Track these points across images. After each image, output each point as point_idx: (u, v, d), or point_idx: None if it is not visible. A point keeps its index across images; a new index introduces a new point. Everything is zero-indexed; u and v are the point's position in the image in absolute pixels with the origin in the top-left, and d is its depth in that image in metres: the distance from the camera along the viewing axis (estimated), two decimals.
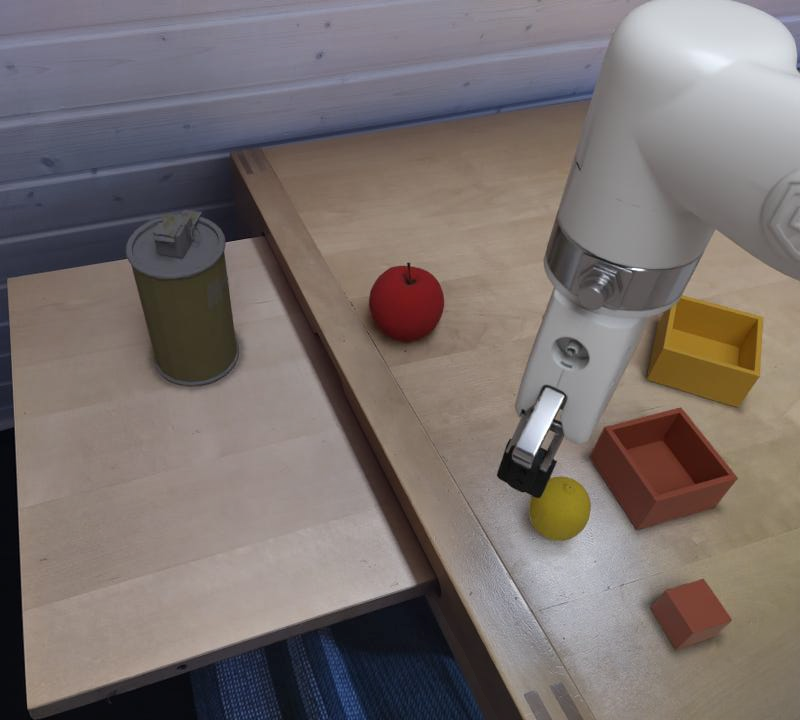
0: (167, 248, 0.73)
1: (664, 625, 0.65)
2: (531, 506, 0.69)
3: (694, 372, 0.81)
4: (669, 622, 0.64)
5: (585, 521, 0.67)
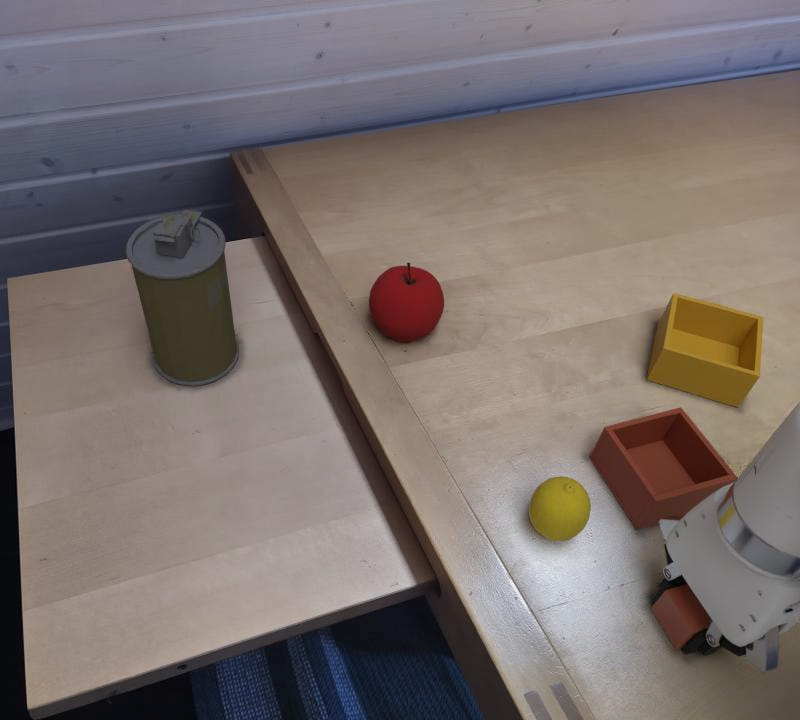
0: (167, 248, 0.73)
1: (664, 625, 0.65)
2: (531, 506, 0.69)
3: (694, 372, 0.81)
4: (669, 622, 0.64)
5: (585, 521, 0.67)
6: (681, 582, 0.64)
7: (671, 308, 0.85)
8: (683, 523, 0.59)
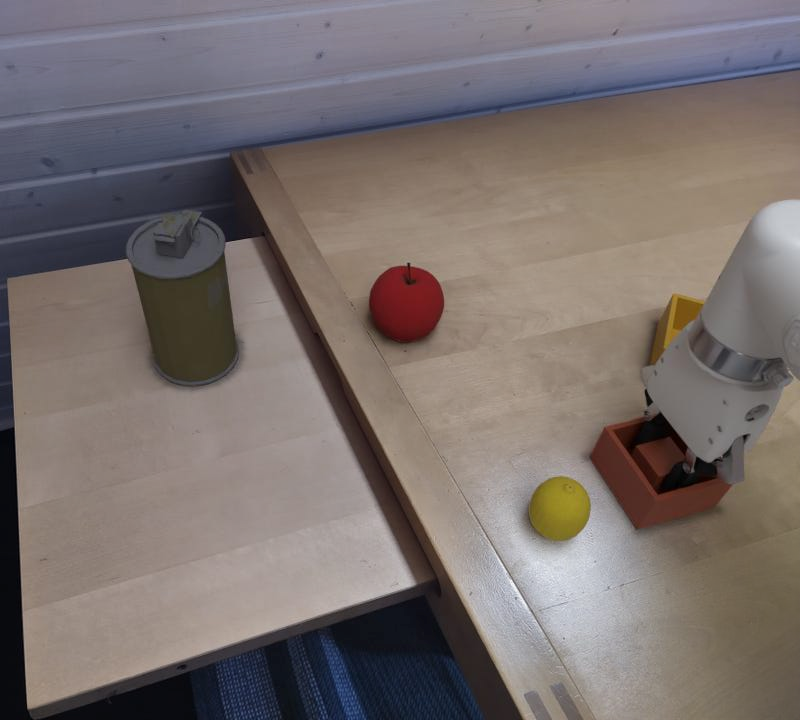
0: (167, 248, 0.73)
1: None
2: (531, 506, 0.69)
3: None
4: None
5: (585, 521, 0.67)
6: (659, 423, 0.71)
7: (671, 308, 0.85)
8: (660, 361, 0.67)
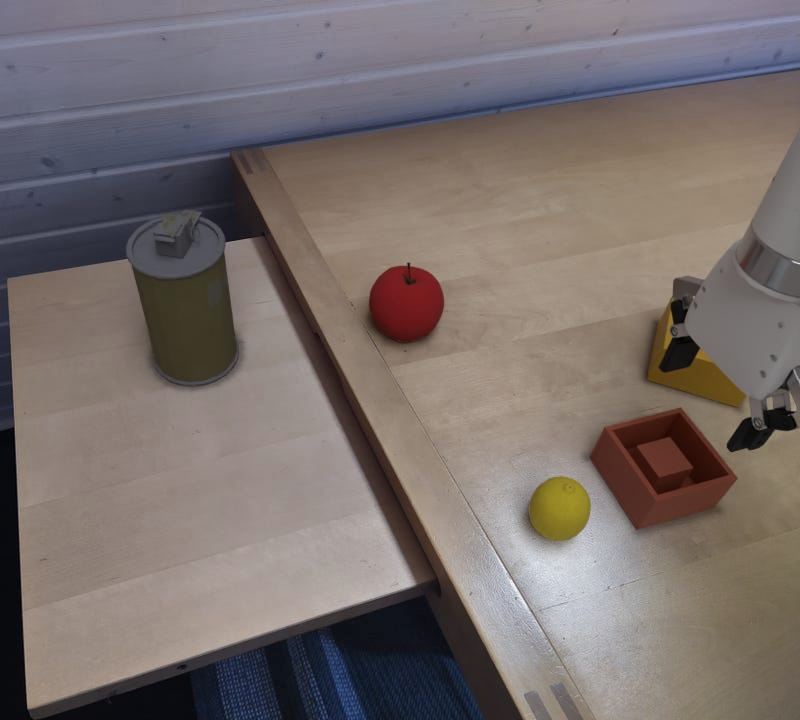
0: (167, 248, 0.73)
1: None
2: (531, 506, 0.69)
3: (694, 372, 0.81)
4: None
5: (585, 521, 0.67)
6: (688, 340, 0.65)
7: None
8: (701, 290, 0.59)
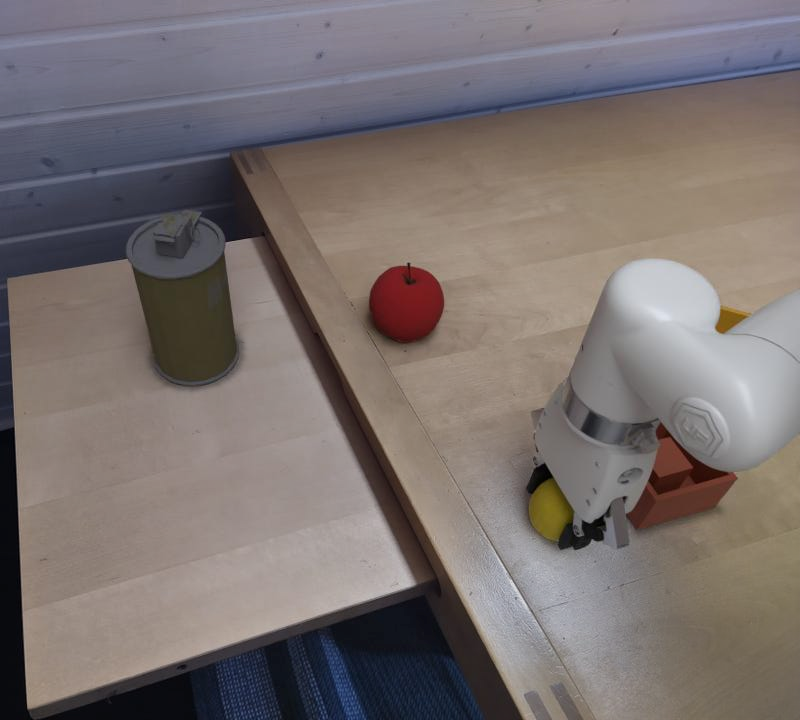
0: (167, 248, 0.73)
1: None
2: (531, 506, 0.69)
3: None
4: None
5: None
6: (548, 469, 0.69)
7: None
8: (544, 414, 0.63)
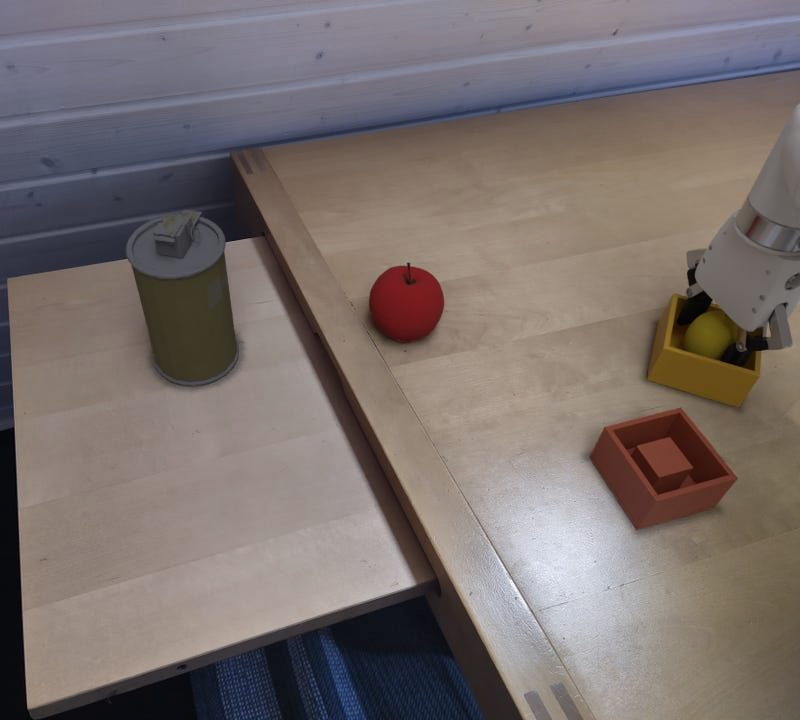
0: (167, 248, 0.73)
1: None
2: (688, 336, 0.83)
3: (694, 372, 0.81)
4: None
5: None
6: (700, 299, 0.83)
7: (671, 308, 0.85)
8: (709, 249, 0.78)
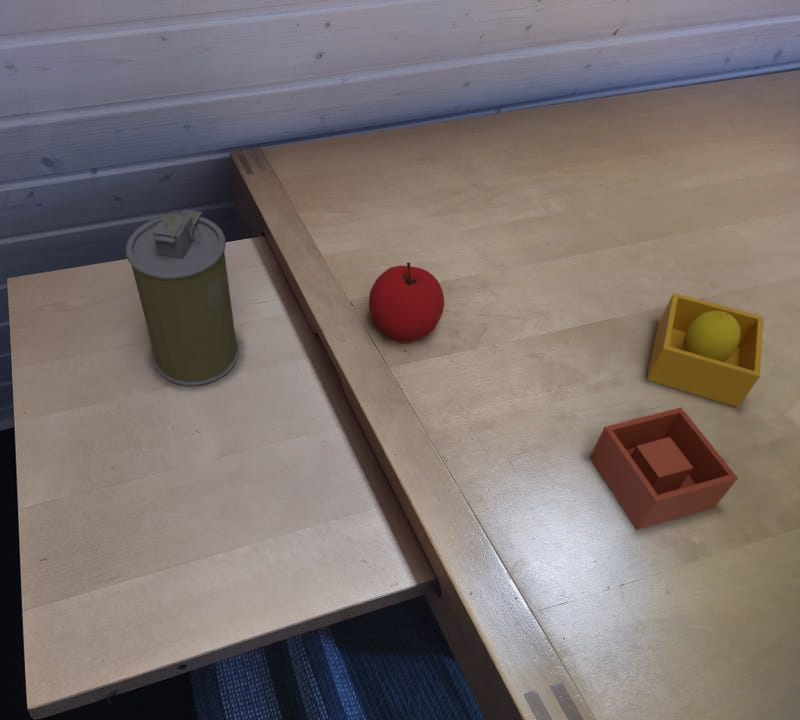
0: (167, 248, 0.73)
1: None
2: (688, 336, 0.83)
3: (694, 372, 0.81)
4: None
5: (736, 344, 0.81)
6: None
7: (671, 308, 0.85)
8: None
